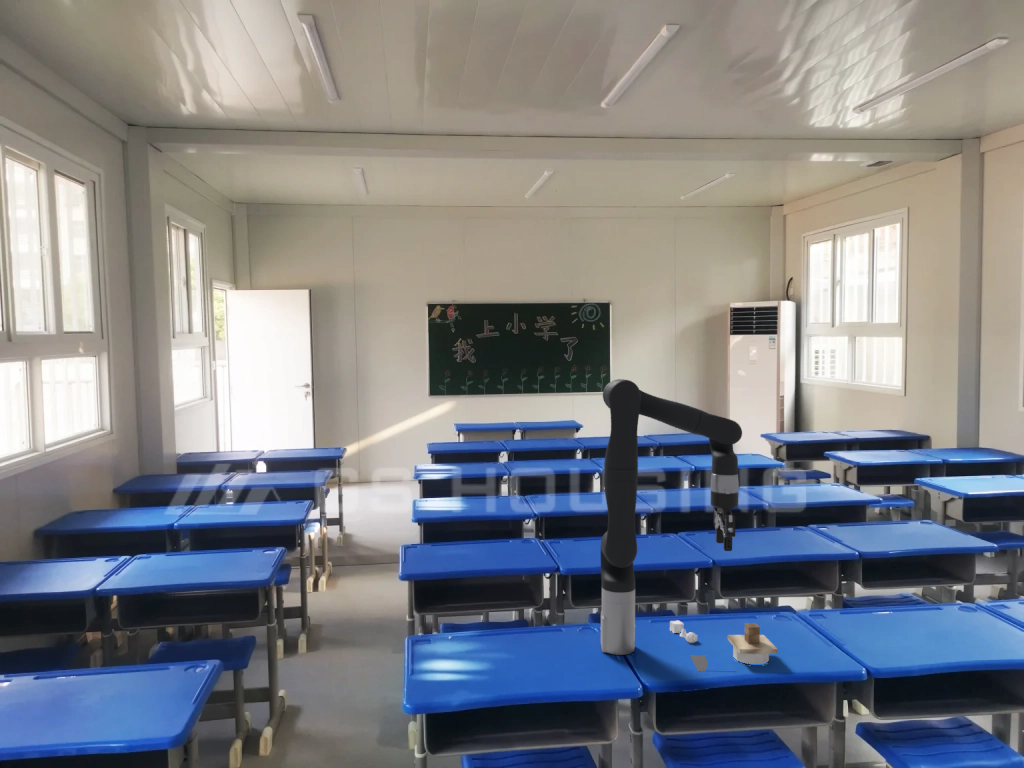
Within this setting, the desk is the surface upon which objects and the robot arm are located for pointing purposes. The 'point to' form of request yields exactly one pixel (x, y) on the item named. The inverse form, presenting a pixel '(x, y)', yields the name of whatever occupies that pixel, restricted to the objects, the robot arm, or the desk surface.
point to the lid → (752, 641)
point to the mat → (699, 662)
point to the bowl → (750, 657)
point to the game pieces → (682, 631)
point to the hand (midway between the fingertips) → (723, 546)
